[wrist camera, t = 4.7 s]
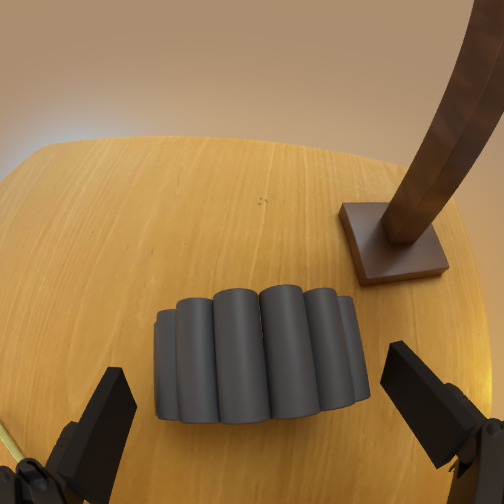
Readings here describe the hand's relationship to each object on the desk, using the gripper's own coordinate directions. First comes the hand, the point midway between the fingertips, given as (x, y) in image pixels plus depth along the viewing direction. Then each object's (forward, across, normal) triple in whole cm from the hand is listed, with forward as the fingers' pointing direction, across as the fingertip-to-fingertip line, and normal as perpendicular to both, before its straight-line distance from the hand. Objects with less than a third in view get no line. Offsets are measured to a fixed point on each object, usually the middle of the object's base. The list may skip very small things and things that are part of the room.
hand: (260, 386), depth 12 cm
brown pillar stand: (+11, +15, +1) cm, 18 cm away
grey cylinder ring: (+6, 0, -4) cm, 7 cm away
